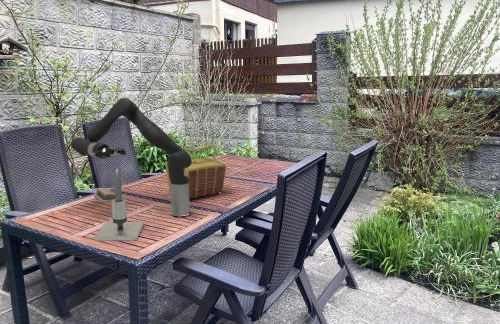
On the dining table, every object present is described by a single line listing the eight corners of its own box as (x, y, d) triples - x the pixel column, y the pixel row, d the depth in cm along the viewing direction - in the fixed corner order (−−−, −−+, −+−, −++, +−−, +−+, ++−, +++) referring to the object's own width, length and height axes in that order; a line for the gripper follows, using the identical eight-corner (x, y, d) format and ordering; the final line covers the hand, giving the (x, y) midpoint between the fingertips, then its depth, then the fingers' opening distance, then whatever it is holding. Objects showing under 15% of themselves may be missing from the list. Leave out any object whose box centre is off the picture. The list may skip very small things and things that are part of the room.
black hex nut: (127, 219, 194) (127, 215, 194) (125, 223, 189) (124, 219, 188) (115, 219, 194) (114, 215, 194) (111, 223, 188) (111, 219, 188)
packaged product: (92, 188, 251) (109, 186, 256) (93, 196, 252) (110, 194, 257) (101, 195, 236) (119, 193, 242) (102, 204, 237) (119, 201, 243)
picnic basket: (186, 204, 237) (185, 152, 231) (164, 194, 257) (163, 146, 251) (228, 195, 256) (228, 147, 250) (204, 186, 275) (204, 141, 269)
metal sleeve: (127, 215, 194) (126, 198, 192) (124, 219, 188) (123, 202, 187) (114, 215, 194) (113, 198, 192) (111, 219, 188) (110, 202, 186)
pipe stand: (144, 225, 202) (141, 165, 196) (136, 240, 184) (133, 173, 178) (105, 226, 201) (102, 165, 195) (94, 240, 183) (90, 173, 177)
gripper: (85, 144, 206) (104, 148, 196) (110, 141, 217) (129, 144, 207) (86, 159, 207) (105, 163, 197) (111, 155, 218) (130, 159, 208)
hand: (117, 154), depth 202 cm, fingers open, 8 cm apart
